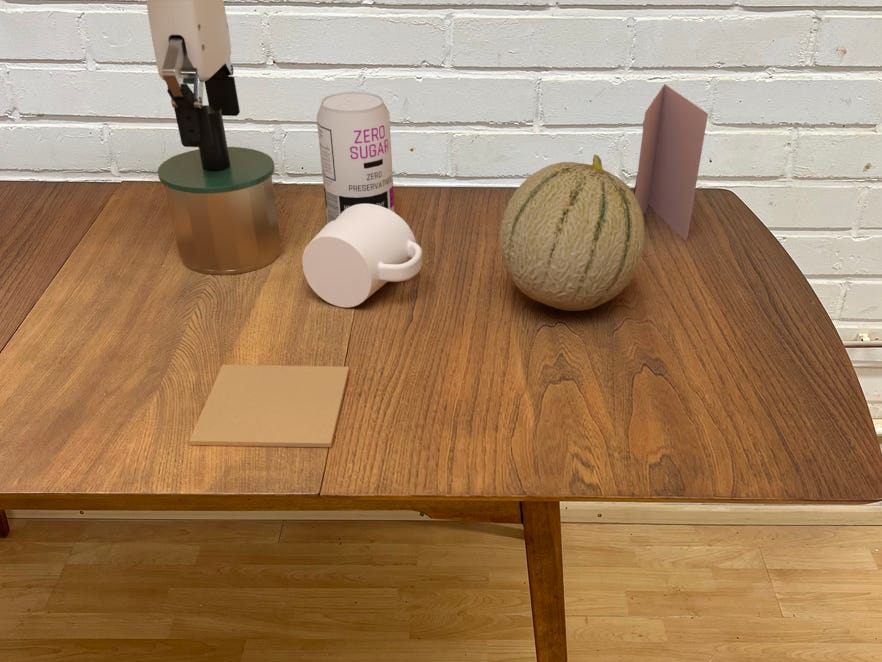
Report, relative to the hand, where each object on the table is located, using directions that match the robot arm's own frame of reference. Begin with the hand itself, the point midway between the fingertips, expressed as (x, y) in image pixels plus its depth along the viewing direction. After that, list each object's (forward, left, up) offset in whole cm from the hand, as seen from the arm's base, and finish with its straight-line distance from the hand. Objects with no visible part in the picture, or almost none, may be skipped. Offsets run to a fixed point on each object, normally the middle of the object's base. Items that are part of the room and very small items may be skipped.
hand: (212, 129), depth 95 cm
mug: (+2, -19, -14) cm, 24 cm away
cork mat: (-20, -26, -14) cm, 36 cm away
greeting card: (+36, -38, -14) cm, 54 cm away
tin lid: (0, 0, -4) cm, 4 cm away
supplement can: (+14, -8, -14) cm, 21 cm away
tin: (0, 0, -14) cm, 14 cm away
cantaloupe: (+12, -38, -14) cm, 42 cm away
